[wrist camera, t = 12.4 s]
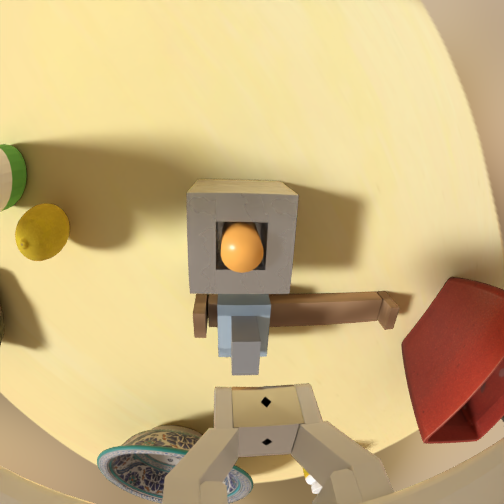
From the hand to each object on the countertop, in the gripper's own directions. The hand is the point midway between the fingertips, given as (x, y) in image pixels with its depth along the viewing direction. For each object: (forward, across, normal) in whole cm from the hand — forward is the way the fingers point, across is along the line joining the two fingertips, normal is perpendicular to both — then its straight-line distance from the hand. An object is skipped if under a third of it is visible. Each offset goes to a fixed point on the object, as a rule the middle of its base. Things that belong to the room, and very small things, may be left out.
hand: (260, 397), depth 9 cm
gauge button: (+18, 0, 0) cm, 18 cm away
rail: (+22, -7, +10) cm, 26 cm away
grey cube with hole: (+22, 0, 0) cm, 22 cm away
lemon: (+23, +20, 0) cm, 30 cm away
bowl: (+22, +10, +39) cm, 46 cm away
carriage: (+22, -1, +10) cm, 25 cm away
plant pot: (+22, -32, +15) cm, 42 cm away
